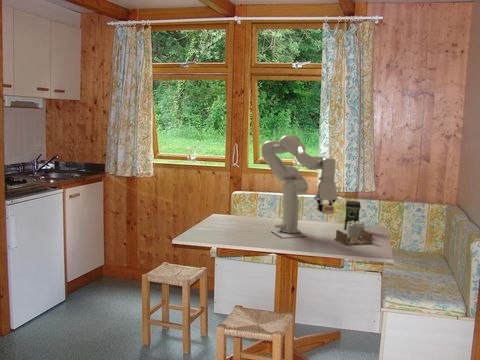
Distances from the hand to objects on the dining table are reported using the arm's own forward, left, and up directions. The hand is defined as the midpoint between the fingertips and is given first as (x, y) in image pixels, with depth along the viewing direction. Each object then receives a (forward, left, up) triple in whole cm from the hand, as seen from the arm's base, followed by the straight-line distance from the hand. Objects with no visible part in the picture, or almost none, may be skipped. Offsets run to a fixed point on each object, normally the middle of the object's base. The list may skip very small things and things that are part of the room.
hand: (325, 210), depth 287 cm
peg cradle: (+15, -8, -17) cm, 24 cm away
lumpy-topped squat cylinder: (+25, +7, -17) cm, 31 cm away
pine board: (0, 0, -1) cm, 1 cm away
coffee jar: (+31, +22, -17) cm, 42 cm away
